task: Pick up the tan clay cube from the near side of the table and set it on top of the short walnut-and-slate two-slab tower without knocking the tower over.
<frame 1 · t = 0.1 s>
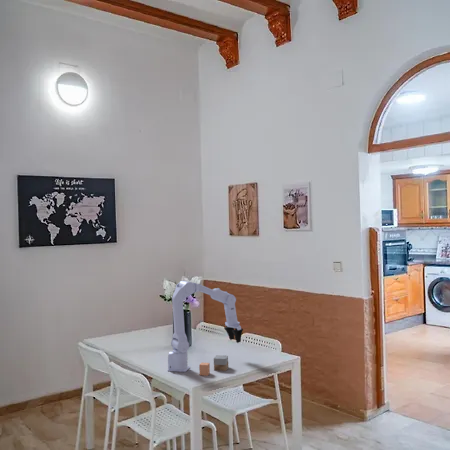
hand: (235, 340, 258), 10 cm above the table, tool pointing down, fingers open, 7 cm apart
walnut slab: (221, 369, 243), on the table, touching slate slab
tan clay cube: (204, 374, 234), on the table
slate slab: (220, 363, 243), point 3 cm above the table, touching walnut slab
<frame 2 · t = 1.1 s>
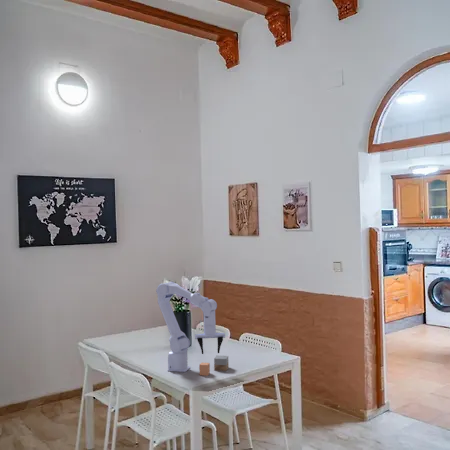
hand: (210, 353, 235), 10 cm above the table, tool pointing down, fingers open, 7 cm apart
nothing on the table moved.
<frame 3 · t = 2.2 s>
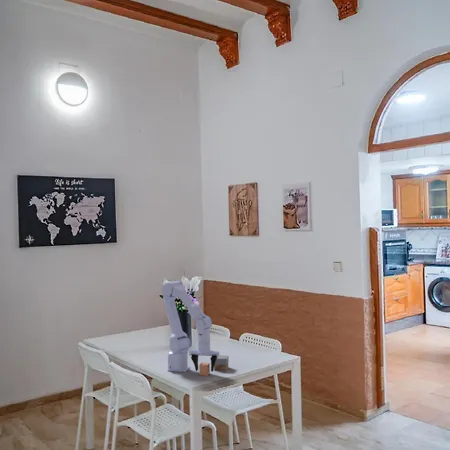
hand: (204, 370, 234), 2 cm above the table, tool pointing down, fingers open, 7 cm apart
nothing on the table moved.
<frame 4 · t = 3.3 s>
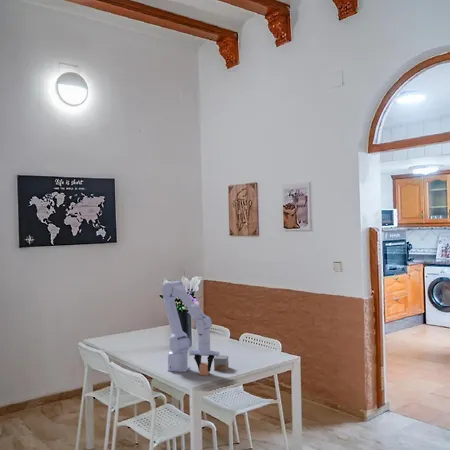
hand: (204, 370, 234), 2 cm above the table, tool pointing down, fingers closed on tan clay cube, 4 cm apart
tan clay cube: (204, 374, 234), on the table, touching gripper
everything else where it was.
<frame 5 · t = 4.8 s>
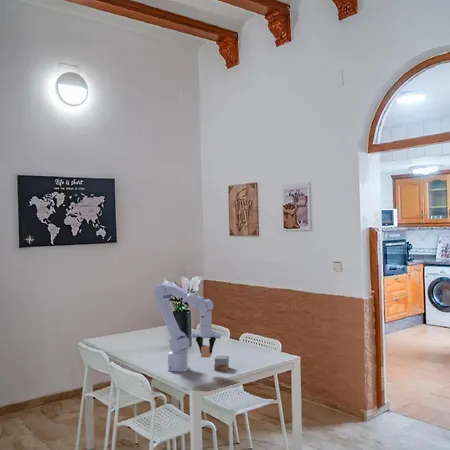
hand: (206, 352, 235), 10 cm above the table, tool pointing down, fingers closed on tan clay cube, 4 cm apart
tan clay cube: (206, 356, 235), point 8 cm above the table, touching gripper
everything else where it was.
when the fingers open (9 cm above the table, at t = 6.1 s): tan clay cube drops 1 cm, point 6 cm above the table.
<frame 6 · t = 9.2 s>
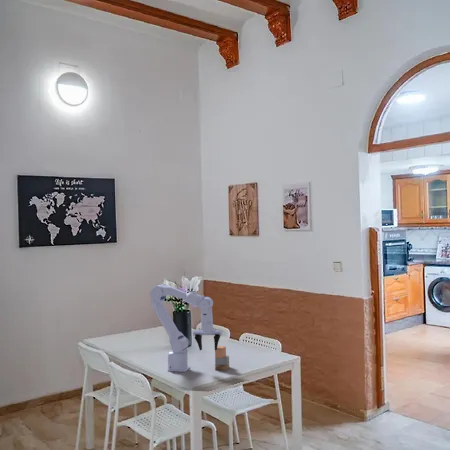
hand: (208, 349, 239), 10 cm above the table, tool pointing down, fingers open, 7 cm apart
tan clay cube: (220, 357, 243), point 6 cm above the table
everything else where it was.
at the end: tan clay cube 0.7 cm off-centre on the walnut slab, point 6.0 cm above the walnut slab's base; tan clay cube tilted 1°; slate slab 0.1 cm off-centre on the walnut slab, point 3.0 cm above the walnut slab's base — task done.
